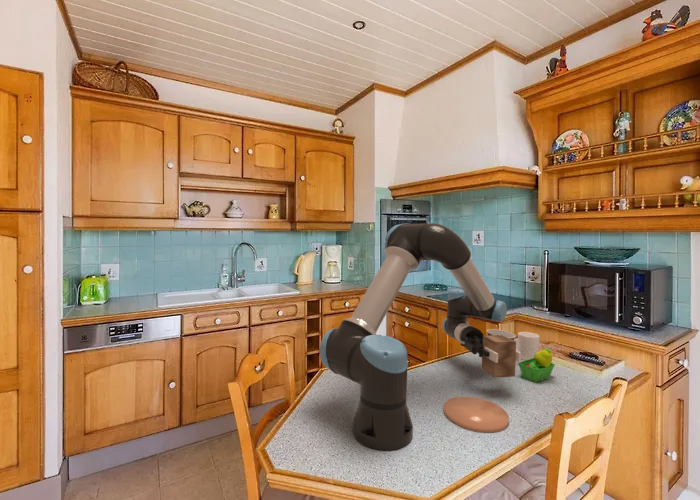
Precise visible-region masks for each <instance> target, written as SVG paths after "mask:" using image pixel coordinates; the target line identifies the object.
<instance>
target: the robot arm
mask: <svg viewBox="0 0 700 500" xmlns="http://www.w3.org/2000/svg"><path fill="white" fill-rule="evenodd" d="M384 238H385V239H384V241H385V242H384V248H385V251H384V254H385V257H386V258H385V259H384V261H383V263H382V264H381V265H380V268H379V270H378V271H377V273H376V275H375V276H374V278H373V280H372V281H371V283H370V285H369V286H368V288H367V289H366V291H365V293H364V294H363V297H362V298H361V299H360V301H359V302H358V305H357V307H356V308H355V310H354V311H353V313H352V314H351V316H350V317H348V318H344V319H343V320H342V322H341V323H340V324H339V327H338V328H337V327H336V328H331V329H329V330H328V331H327V332H325V334H324V335H323V337H322V339H321V341H320V345H319V353H320V355H319V356H320V360H321V363H322V364H323V365H324V367H325V368H327V369H328V370H329V371H331V372H333V374H336V375H339V376H341V377H344V378H346V379H348V380H350V381H352V382H354V383H356V384H359V386H360V389H359V393H360V394H359V397H360V398H359V403H358V406H357V407H356V411H355V414H354V417H353V422H352V434H353V436H354V438H355V440H357V442H359V443H360V444H361V445H364V446H365V447H367V448H371V449H374V450H380V451H394V450H397V449H401V448H403V447H405V446H407V445H408V444H409V443H410V442H411V441H412V439H413V436H414V435H413V434H414V425H413V422H412V418H411V415H410V411H409V408H408V404H407V393H408V392H407V389H408V388H407V385H408V367H409V360H408V351H407V346H406V345H404V344H405V343H403V342H401V341H400V340H398V339H396V338H394V337H393V336H390V335H389V336H388V335H381V334H377V332H378V330H379V328H380V326H381V325H382V323H383V321H384V318H385V317H386V315H387V313H388V312H389V309H390V308H391V306H392V304H393V302H394V301H395V299H396V297H397V295H398V293H399V292H400V290H401V288H402V286H403V284H404V282H405V280H406V279H407V277H408V274H409V273H410V271H414V270H416V269H417V268H418V267H419V265H420V263H421V262H422V260H425V261H435V262H437V263H440V264H441V265H442V267H443V268H444V269H445V270H448V271H449V272H450V273H451V274H452V276H453V278H454V279H455V280H456V281H457V283H458V285H459V286H460V288H453V289H450V290H448V292H447V299H446V300H447V306H446V307H447V308H446V309H447V314H446V318H445V319H444V320H443V322H442V324H441V325H442V330H443V332H444V333H445V334H446V335H447V336H448V337H450V338H451V339H454V340H456V341H457V342H459V343H460V346H462V347H464V348H465V349H466V350H468V351H469V352H470V353H471V354H472V355H477V354H478V357H479V358H482V357H483V355H484V356H485V357H487V358H489V359H490V360H492V361H494V362H495V363H498V353H496V352H494V351H492V350H491V349H489V348H487V347H484V349H483V336H485V335H484V334H483V332H482V331H481V330H480V328H476V327H474V326H473V325H470V324H469V323H467V321H468V320H467V319H468V317H472V318H478V319H482V320H487V321H491V322H499V323H500V322H503V321H504V320H505V318H506V316H507V313H508V307H507V304H506V303H505V301H501V300H499V299H497V300H496V299H495V297H494V296H493V294H492V293H491V291H490V288H488V285H487V284H486V282H485V280H484V279H483V277H482V275H481V274H480V272H479V271H478V269H477V267H476V265H475V263H474V262H473V260H472V259H471V256H472V253H471V251H470V249H469V247H468V245H467V244H466V243H465V241H464V240H463V239H462V238H461V237H460V236H459V235H458V234H457V233H456V232H454V230H452V229H451V228H448V227H447V226H444V225H443V224H440V223H435V222H434V223H405V222H404V223H401V224H400V223H399V224H396V225H394V226H392V227H391V228H390V229H389V230H388V232H387V233H386V236H385V237H384ZM516 362H518V363H519V362H522V359H521V352H519V350H517V349H516Z"/></svg>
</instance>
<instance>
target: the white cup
mask: <svg viewBox="0 0 700 500" xmlns="http://www.w3.org/2000/svg"><path fill="white" fill-rule="evenodd" d="M540 337H541V336H540V335H539V334H537V333H533V332H530V331H519V332H517V340H518V341H517V347H518V350H517V351H519V352H521V360H523V361H525V360H529V359H532V358H534V355H535V353H537V352H539V348H540Z"/></svg>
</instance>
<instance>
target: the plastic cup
mask: <svg viewBox="0 0 700 500" xmlns="http://www.w3.org/2000/svg"><path fill="white" fill-rule="evenodd" d="M486 333H487V336H488V335H503V336H505V337H508V338H510V339H512V340H514V341H515V339H516V337H517V335H516V334H515V333H513V332H510V331H507V330H502V329H496V328H493V329H492V328H491V329H486Z"/></svg>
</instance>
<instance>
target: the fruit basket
mask: <svg viewBox="0 0 700 500" xmlns="http://www.w3.org/2000/svg"><path fill="white" fill-rule="evenodd" d="M552 358H553V353H552V350H551V349H549V348H546V347H545V348H543V349H542V350H538V352H537V353H535V355H534V358H532V359H529V360H523V361H522V360H521V362H518V366H519V368H520V373H521V377H522V378H523V379H526V380H529V381H532V382H534V383H539V382H541V381H543V380H546V379H550V377H551V375H552V372H553V369H554V368H555V366H556V365H555V363H553V362H552V361H553V359H552Z"/></svg>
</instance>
